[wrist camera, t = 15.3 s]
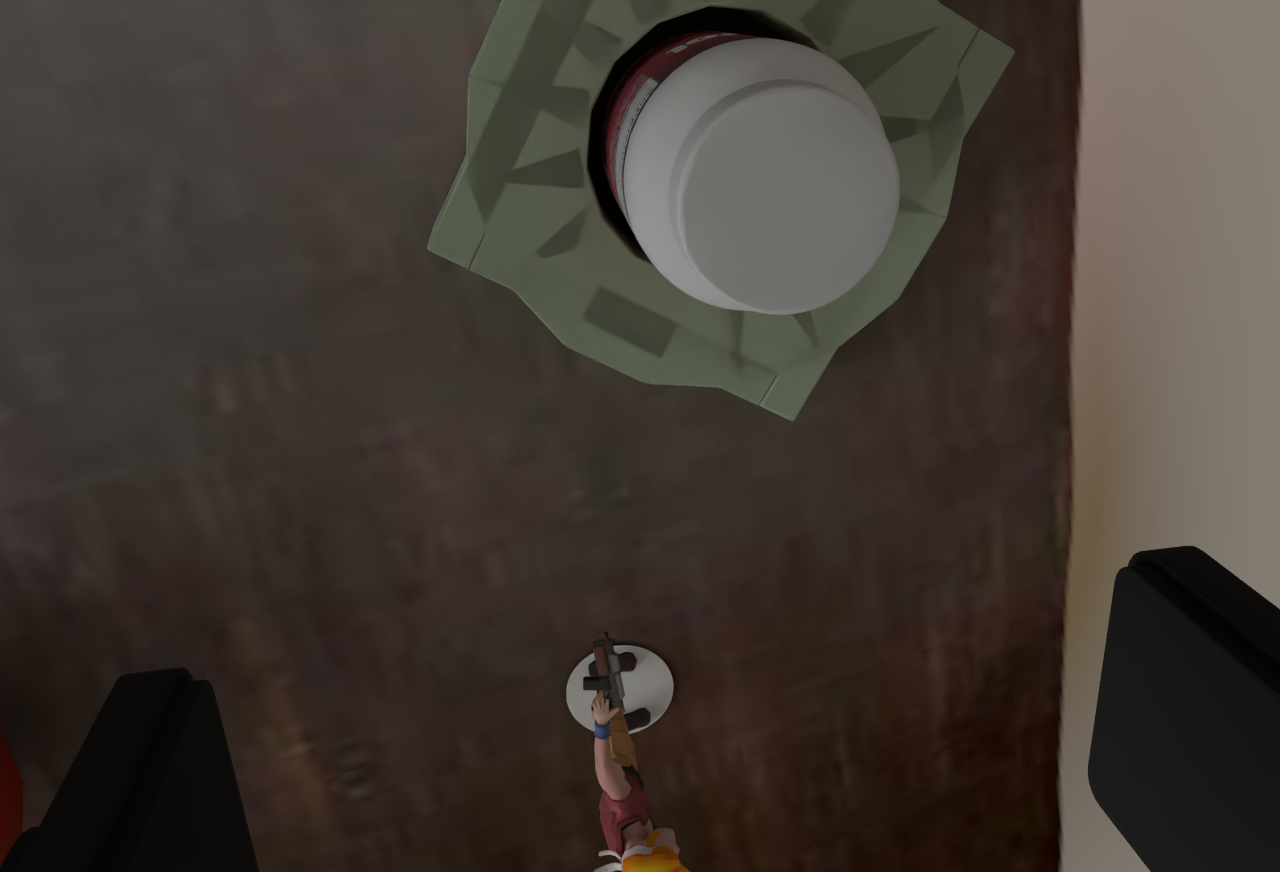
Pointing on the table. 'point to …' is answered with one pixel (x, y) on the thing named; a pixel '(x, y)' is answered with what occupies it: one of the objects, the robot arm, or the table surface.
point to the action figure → (624, 748)
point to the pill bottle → (750, 171)
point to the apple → (9, 800)
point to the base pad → (615, 263)
